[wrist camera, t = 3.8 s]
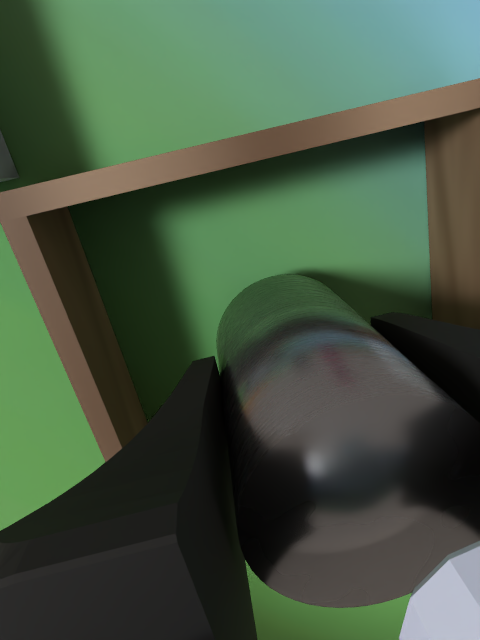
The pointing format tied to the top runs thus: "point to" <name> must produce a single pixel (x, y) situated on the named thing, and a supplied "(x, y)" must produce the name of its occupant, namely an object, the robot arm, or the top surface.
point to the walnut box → (55, 195)
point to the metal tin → (339, 450)
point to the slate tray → (6, 163)
